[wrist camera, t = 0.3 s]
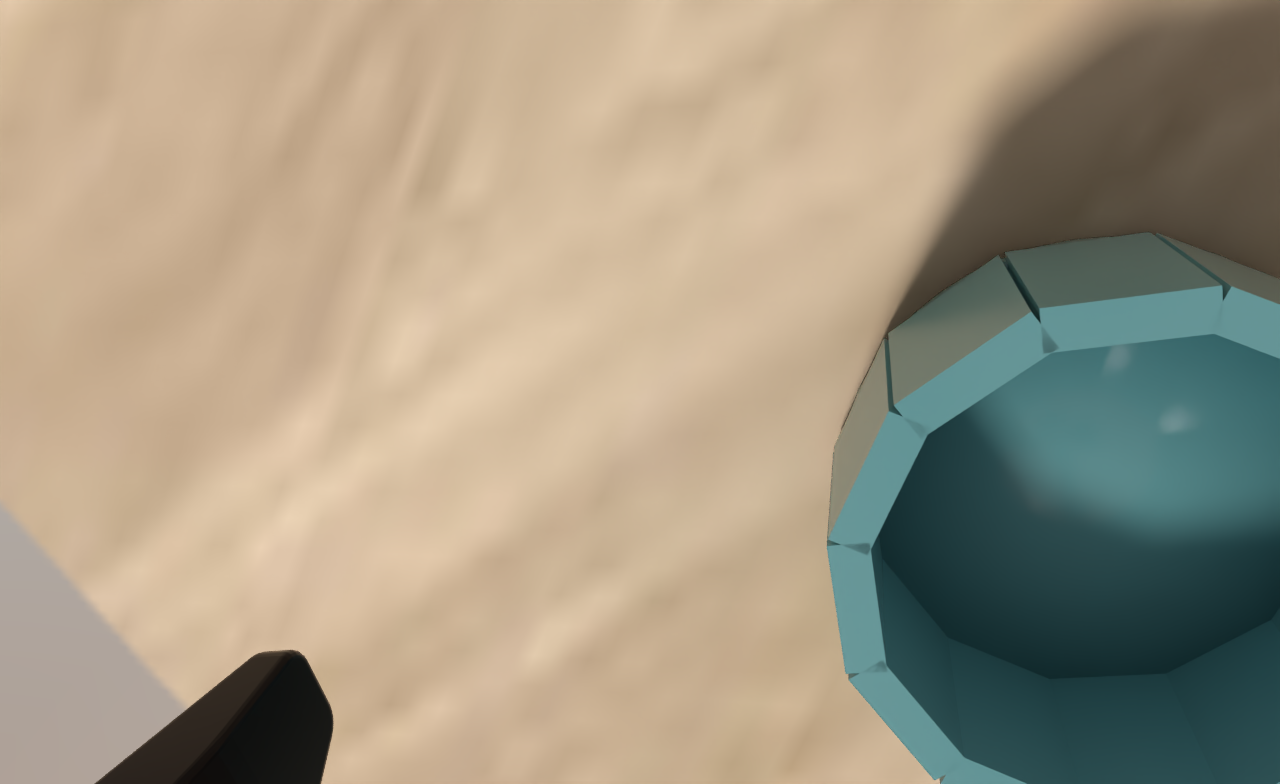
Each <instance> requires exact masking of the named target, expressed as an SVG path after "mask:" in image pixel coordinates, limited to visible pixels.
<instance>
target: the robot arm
mask: <svg viewBox="0 0 1280 784" xmlns="http://www.w3.org/2000/svg"><path fill="white" fill-rule="evenodd" d="M332 733H333V714H332V710H331V706H330V704H329V702H328V700H327V698H326V696H325V694H324V692H323V690H322V688H321V686H320V684H319V682H318V680H317V678H316V677H315V675H314V673H313V671H312V669H311V667H310V665H309V663H308V661H307V659H306V658H305V656H304V655H302V654H301V653H300V652H298V651H295V650H282V651H268V652H262V653H258V654H256V655H254V656H253V657H251V658H250V659H249V660H248V661H246V662H245V663H244V664H243V665H241V666H240V667H239V668H238V669H236V670H235V671H234V672H233V673H231V674H230V675H229V676H228V677H226V678H225V679H224V680H223V681H221V682H220V683H219V684H218V685H217V686H215V687H214V688H213V689H212V690H210V691H209V692H208V693H207V694H205V695H204V696H203V697H202V698H200V699H199V700H198V701H197V702H195V703H194V704H193V705H192V706H190V707H189V708H188V709H187V710H185V711H184V712H183V713H182V714H181V715H179V716H178V717H177V718H176V719H174V720H173V721H172V722H171V723H169V724H168V725H167V726H166V727H164V728H163V729H162V730H161V731H159V732H158V733H157V734H156V735H155V736H153V737H152V738H151V739H149V740H148V741H147V742H146V743H145V744H143V745H142V746H141V747H140V748H138V749H137V750H136V751H135V752H133V753H132V754H131V755H130V756H128V757H127V758H126V759H125V760H123V761H122V762H121V763H120V764H118V765H117V766H116V767H115V768H114V769H112V770H111V771H110V772H108V773H107V774H106V775H105V776H104V777H102V778H101V779H100V780H99V781H98V782H96V783H95V784H321V781H322V777H323V773H324V768H325V764H326V760H327V755H328V751H329V747H330V742H331V738H332Z"/></svg>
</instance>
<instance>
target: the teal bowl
mask: <svg viewBox="0 0 1280 784" xmlns="http://www.w3.org/2000/svg"><path fill="white" fill-rule="evenodd" d="M888 339H889V340H887V339H885V338H884V339H883V341H882V344H881V346H880V348H879V350H878V352H877V354H876V357H875V359H874V361H873V363H872V365H871V367H870V369H869V371H868V373H867V375H866V377H865V378H864V380H863V382H862V384H861V386H860V388H859V390H858V392H857V395H856V398H855V400H854V403H853V405H852V408H851V411H850V413H849V415H848V418H847V420H846V422H845V424H844V426H843V429H842V431H841V433H840V435H839V437H838V439H837V442H836V444H835V446H834V452H833V465H832V479H831V493H830V507H829V521H828V535H827V551H828V558H829V565H830V571H831V578H832V585H833V592H834V598H835V605H836V612H837V618H838V625H839V632H840V639H841V645H842V652H843V659H844V666H845V672H846V674H849V681H850V682H851V683H852V684H853V686H854V687H855V688H856V689H857V690H858V691H859V693H860V694H861V695H862V696H863V697H864V698H865V700H866V701H867V702H868V703H869V704H870V705H871V707H872V708H873V709H874V710H875V711H876V712H877V714H878V715H879V716H880V717H881V718H882V719H883V721H884V722H885V723H886V724H887V725H888V726H889V728H890V729H891V730H892V731H893V732H894V734H895V735H896V736H897V737H898V738H899V739H900V741H901V742H902V743H903V744H904V745H905V746H906V748H907V749H908V750H909V751H910V752H911V753H912V755H913V756H914V757H915V758H916V759H917V760H918V762H919V763H920V764H921V765H922V766H923V767H924V769H925V770H926V771H927V772H928V773H929V774H930V776H931V777H932V778H933V779H934V780H936V779H938V778H940V784H1280V279H1279V278H1276V277H1273V276H1271V275H1268V274H1265V273H1263V272H1260V271H1258V270H1255V269H1252V268H1250V267H1247V266H1244V265H1242V264H1239V263H1236V262H1234V261H1232V260H1229V259H1227V258H1225V257H1223V256H1221V255H1218V254H1215V253H1212V252H1208V251H1205V250H1202V249H1199V248H1196V247H1194V246H1191V245H1188V244H1186V243H1183V242H1180V241H1178V240H1175V239H1172V238H1170V237H1167V236H1164V235H1162V234H1159V233H1156V235H1155V236H1154V235H1153V234H1152V233H1150V232H1145V233H1138V234H1131V235H1124V236H1116V237H1112V236H1110V237H1097V238H1084V239H1073V240H1068V241H1063V242H1058V243H1053V244H1048V245H1043V246H1038V247H1035V248H1031V249H1023V250H1016V251H1009V252H1005V257H1004V258H1002V259H1001V258H1000V256H999V255H997V256H996V257H994V258H993V259H992V260H990V261H989V262H987V263H986V264H985V265H983V266H982V267H980V268H979V269H978V270H976V271H974V272H972V273H970V274H968V275H967V276H965V277H964V278H962V279H960V280H959V281H957V282H956V283H954V284H952V285H951V286H949V287H947V288H946V289H944V290H943V291H941V292H940V293H939V294H937V295H936V296H935V297H934V298H932V299H931V300H930V301H929V302H928V303H926V304H925V305H924V306H923V307H921V308H920V309H919V310H918V311H916V312H915V313H914V314H913V315H912V316H911V317H910V318H909V319H907V320H906V321H905V322H903V323H902V324H900V325H899V326H898V327H896V328H895V329H893V330H892V331H890V332H889V333H888Z"/></svg>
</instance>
